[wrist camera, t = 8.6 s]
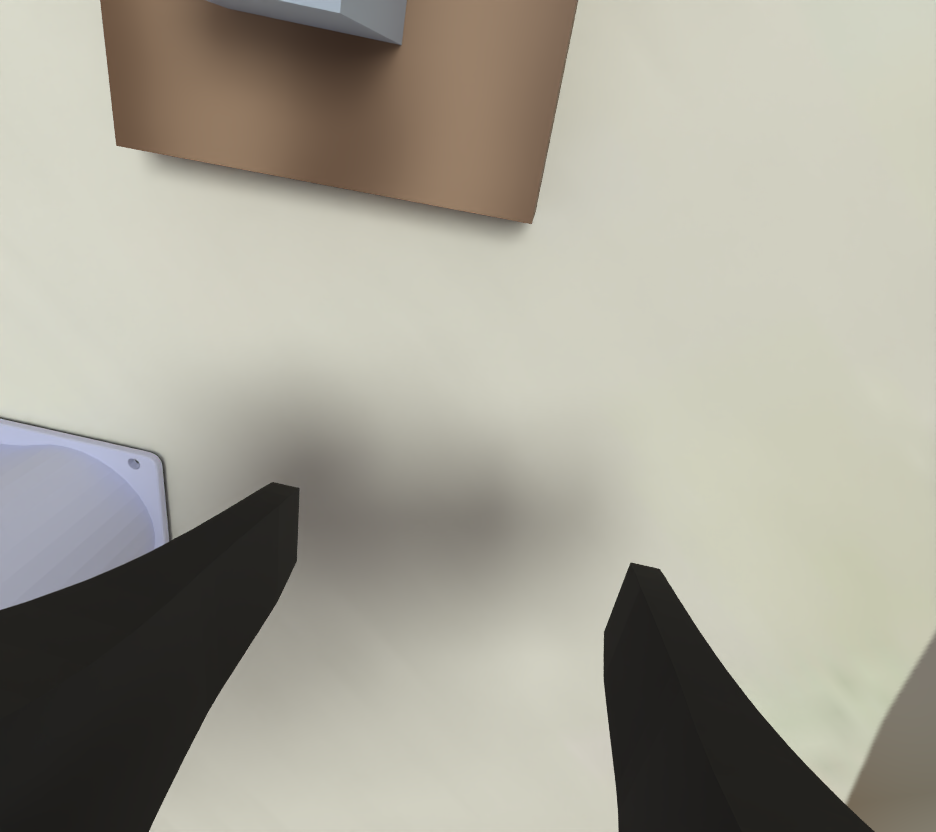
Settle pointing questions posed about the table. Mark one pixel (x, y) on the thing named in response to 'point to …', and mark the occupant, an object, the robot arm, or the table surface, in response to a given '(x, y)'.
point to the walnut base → (349, 96)
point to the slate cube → (333, 15)
